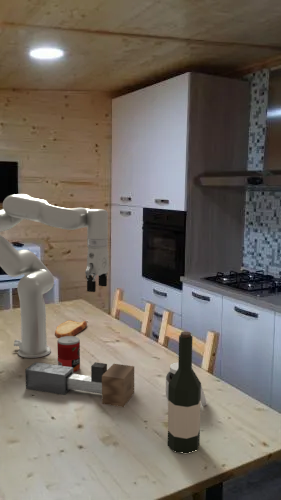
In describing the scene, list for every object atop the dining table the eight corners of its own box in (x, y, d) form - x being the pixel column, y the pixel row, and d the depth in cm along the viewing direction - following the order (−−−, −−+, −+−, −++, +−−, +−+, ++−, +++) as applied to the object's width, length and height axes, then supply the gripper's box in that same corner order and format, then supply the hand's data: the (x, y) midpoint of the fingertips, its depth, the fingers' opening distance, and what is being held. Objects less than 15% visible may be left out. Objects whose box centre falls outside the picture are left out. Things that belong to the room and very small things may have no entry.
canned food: (76, 374, 165) (75, 343, 163) (54, 372, 166) (53, 342, 165) (83, 365, 172) (82, 336, 171) (62, 363, 174) (61, 335, 172)
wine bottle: (165, 436, 125) (166, 328, 120) (196, 435, 126) (198, 327, 121) (169, 454, 117) (171, 339, 112) (202, 453, 117) (206, 338, 113)
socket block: (102, 403, 143) (101, 375, 142) (113, 389, 152) (113, 363, 151) (123, 407, 141) (123, 378, 140) (134, 393, 150) (134, 366, 149)
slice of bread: (60, 340, 199) (60, 332, 199) (45, 329, 214) (45, 321, 214) (98, 333, 208) (98, 325, 208) (81, 323, 224) (81, 315, 223)
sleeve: (25, 388, 153) (25, 369, 152) (36, 380, 159) (35, 362, 158) (64, 394, 149) (64, 375, 148) (73, 386, 155) (73, 367, 154)
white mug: (162, 397, 147) (162, 362, 146) (193, 391, 152) (194, 357, 150) (180, 415, 136) (180, 377, 135) (213, 408, 141) (214, 371, 139)
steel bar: (54, 386, 151) (53, 361, 150) (59, 382, 155) (58, 357, 153) (113, 396, 145) (113, 369, 144) (117, 390, 148) (117, 364, 147)
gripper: (96, 246, 162) (96, 295, 165) (116, 240, 178) (115, 284, 181) (77, 245, 165) (77, 292, 167) (98, 239, 181) (97, 283, 183)
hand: (97, 288), depth 174 cm, fingers open, 9 cm apart
